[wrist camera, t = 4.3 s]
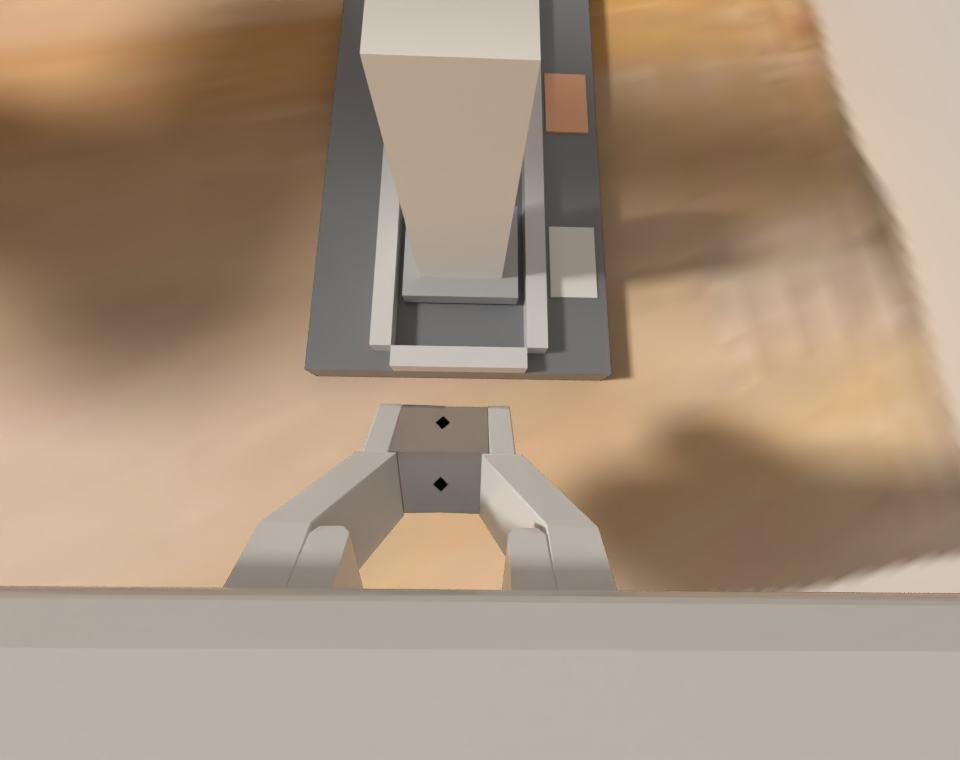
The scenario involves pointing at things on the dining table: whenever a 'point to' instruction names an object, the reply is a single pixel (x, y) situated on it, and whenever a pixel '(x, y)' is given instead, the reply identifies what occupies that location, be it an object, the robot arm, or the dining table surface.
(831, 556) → the dining table surface
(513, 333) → the switch panel
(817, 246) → the dining table surface
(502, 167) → the lever
